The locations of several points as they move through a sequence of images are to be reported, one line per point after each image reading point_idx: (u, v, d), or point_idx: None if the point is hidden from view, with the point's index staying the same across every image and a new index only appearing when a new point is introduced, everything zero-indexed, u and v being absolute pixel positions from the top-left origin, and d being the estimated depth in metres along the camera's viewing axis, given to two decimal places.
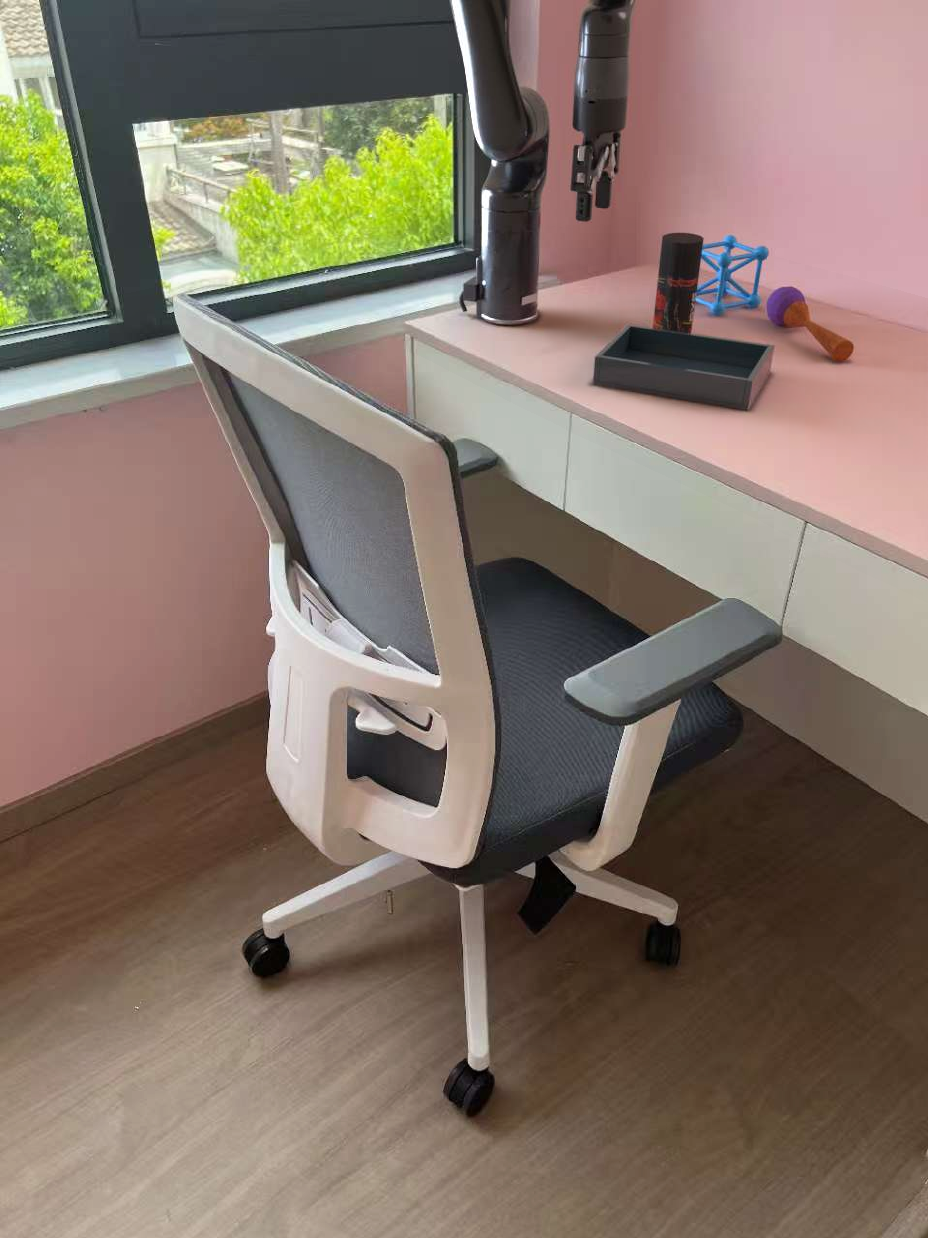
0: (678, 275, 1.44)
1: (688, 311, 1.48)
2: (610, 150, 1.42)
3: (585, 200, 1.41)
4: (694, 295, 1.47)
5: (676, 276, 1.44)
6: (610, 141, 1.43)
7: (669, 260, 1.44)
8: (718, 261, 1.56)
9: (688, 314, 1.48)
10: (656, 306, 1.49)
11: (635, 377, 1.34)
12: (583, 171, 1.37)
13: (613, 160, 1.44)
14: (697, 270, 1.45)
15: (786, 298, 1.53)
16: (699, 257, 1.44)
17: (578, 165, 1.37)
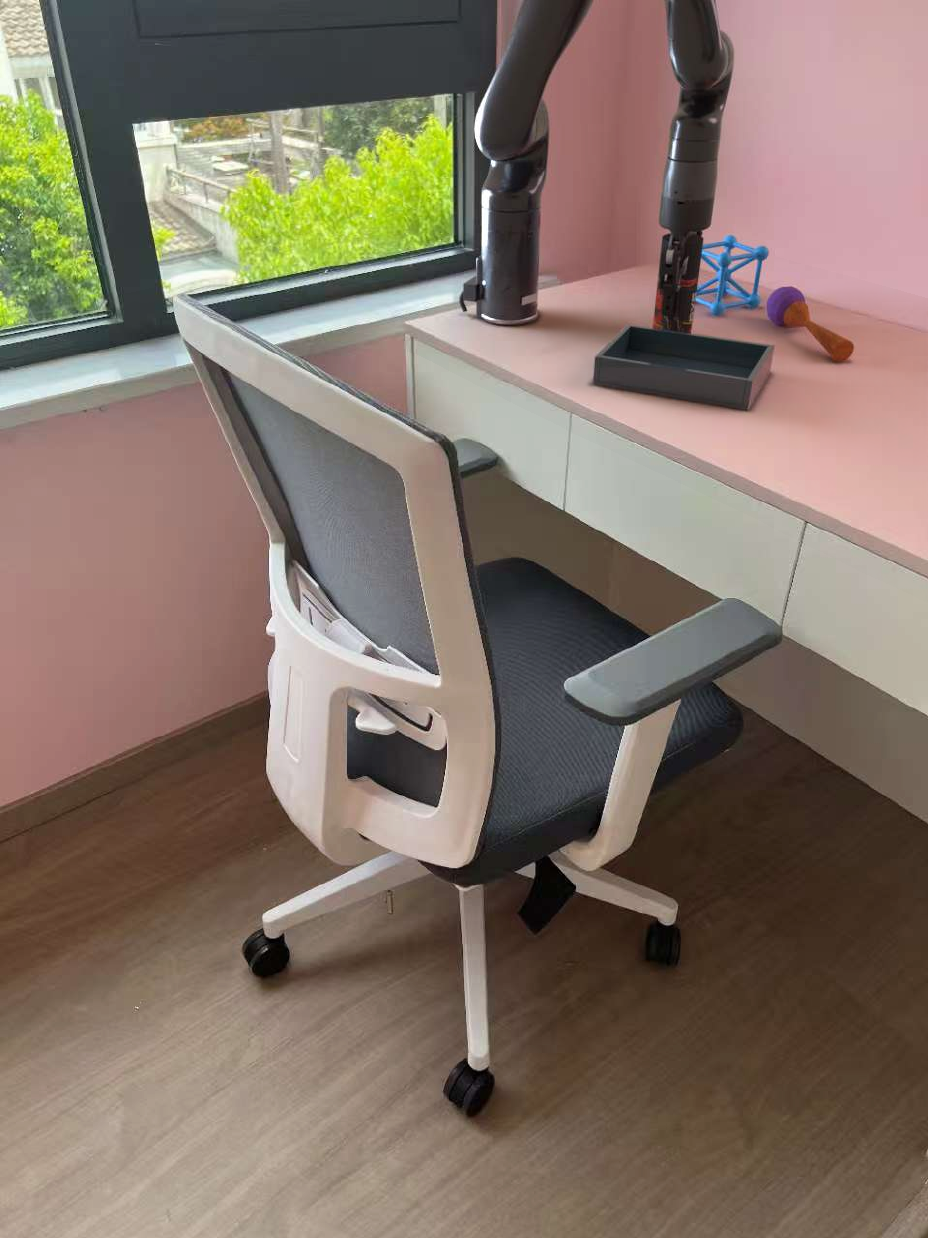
0: None
1: (688, 311, 1.48)
2: None
3: (672, 297, 1.45)
4: (694, 295, 1.47)
5: None
6: None
7: None
8: (718, 261, 1.56)
9: (688, 314, 1.48)
10: (656, 306, 1.49)
11: (635, 377, 1.34)
12: (671, 273, 1.41)
13: None
14: (697, 270, 1.45)
15: (786, 298, 1.53)
16: (699, 257, 1.44)
17: (666, 268, 1.41)
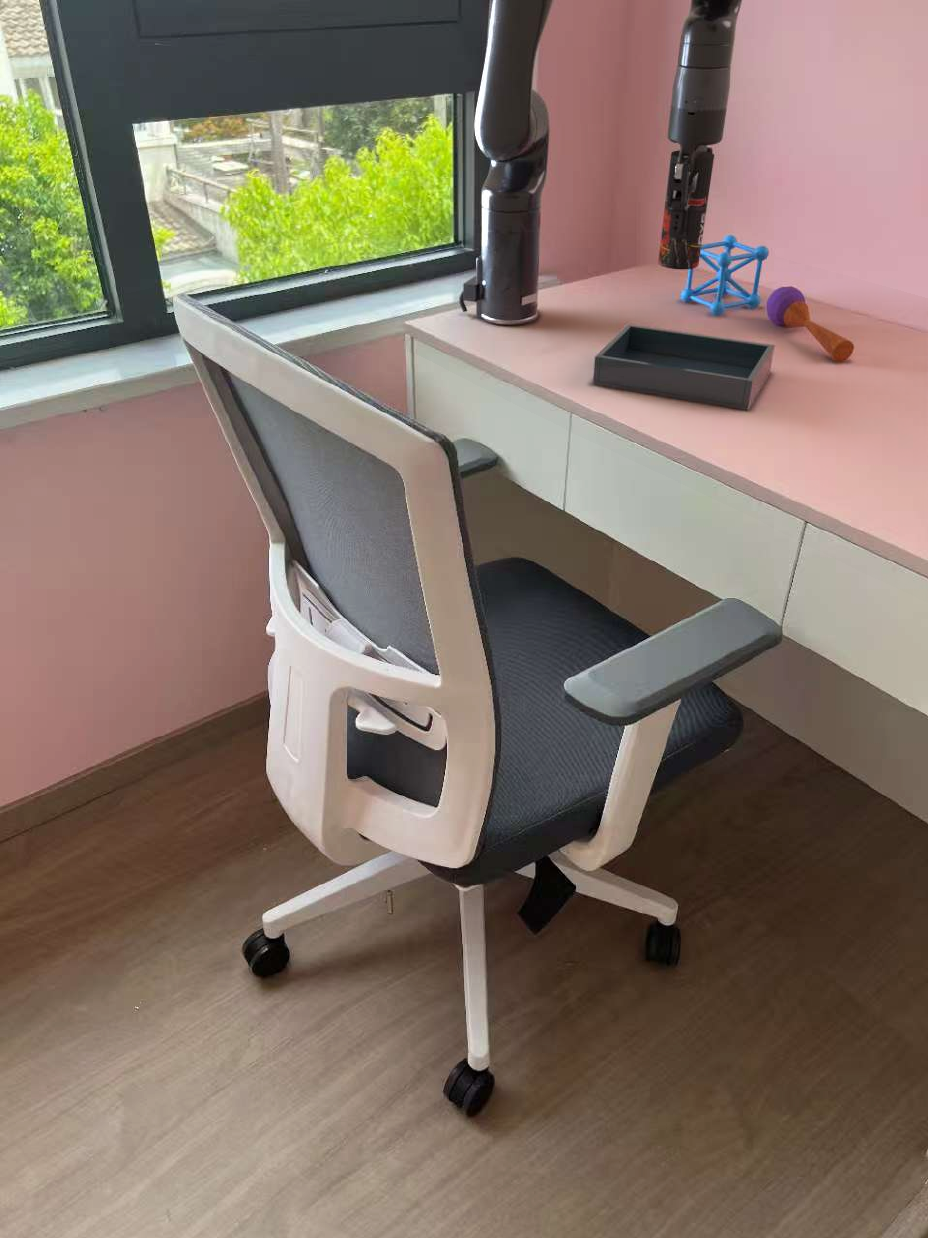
0: None
1: (697, 233, 1.41)
2: None
3: (680, 216, 1.38)
4: (703, 216, 1.41)
5: None
6: None
7: None
8: (718, 261, 1.56)
9: (696, 236, 1.42)
10: (663, 228, 1.43)
11: (635, 377, 1.34)
12: (680, 189, 1.35)
13: None
14: (707, 189, 1.38)
15: (786, 298, 1.53)
16: (709, 174, 1.37)
17: (675, 183, 1.34)
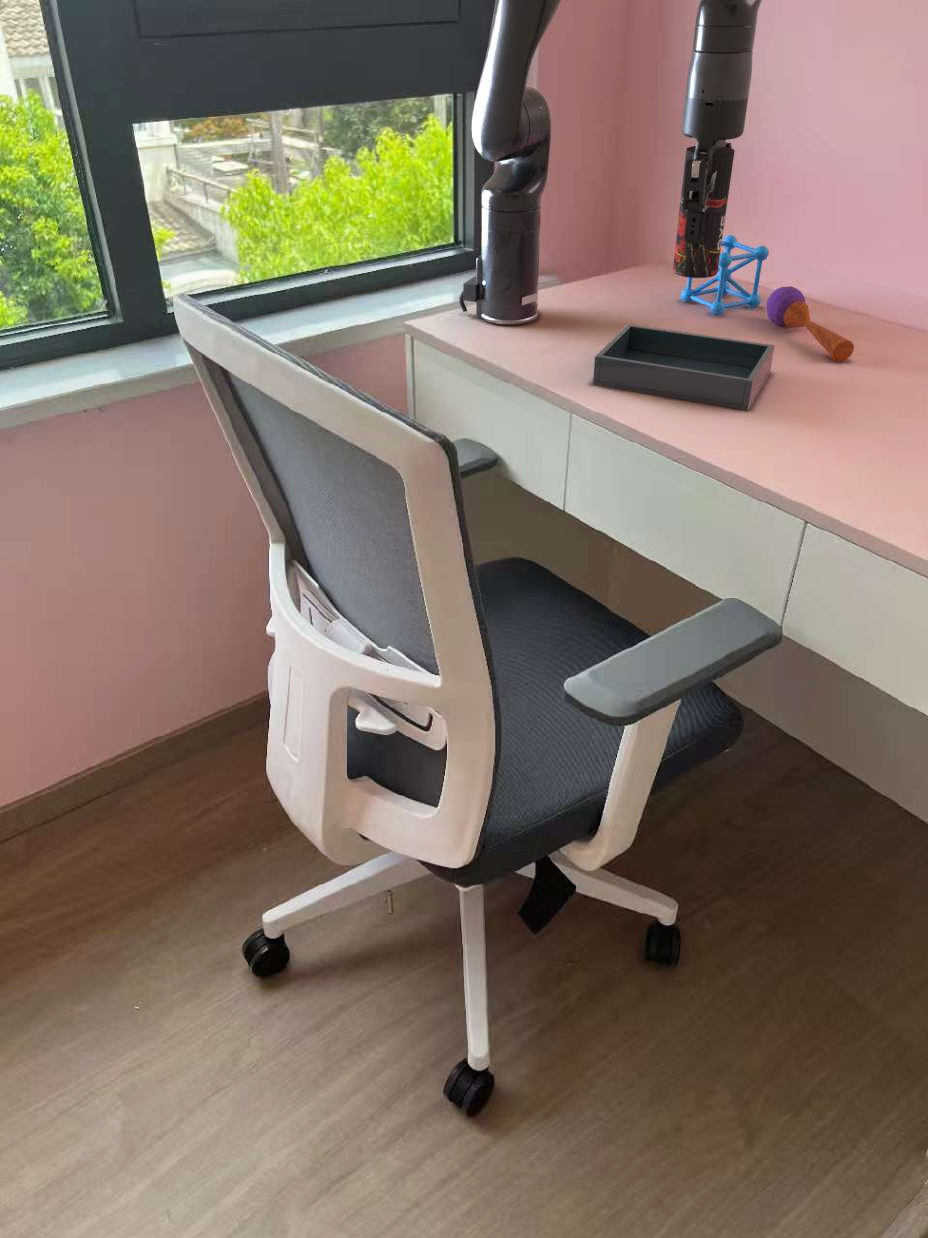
0: None
1: (716, 237, 1.27)
2: None
3: (697, 219, 1.24)
4: (723, 218, 1.27)
5: None
6: None
7: None
8: None
9: (715, 241, 1.27)
10: (678, 233, 1.29)
11: (635, 377, 1.34)
12: (698, 189, 1.20)
13: None
14: (727, 188, 1.24)
15: (786, 298, 1.53)
16: (729, 172, 1.23)
17: (692, 182, 1.20)
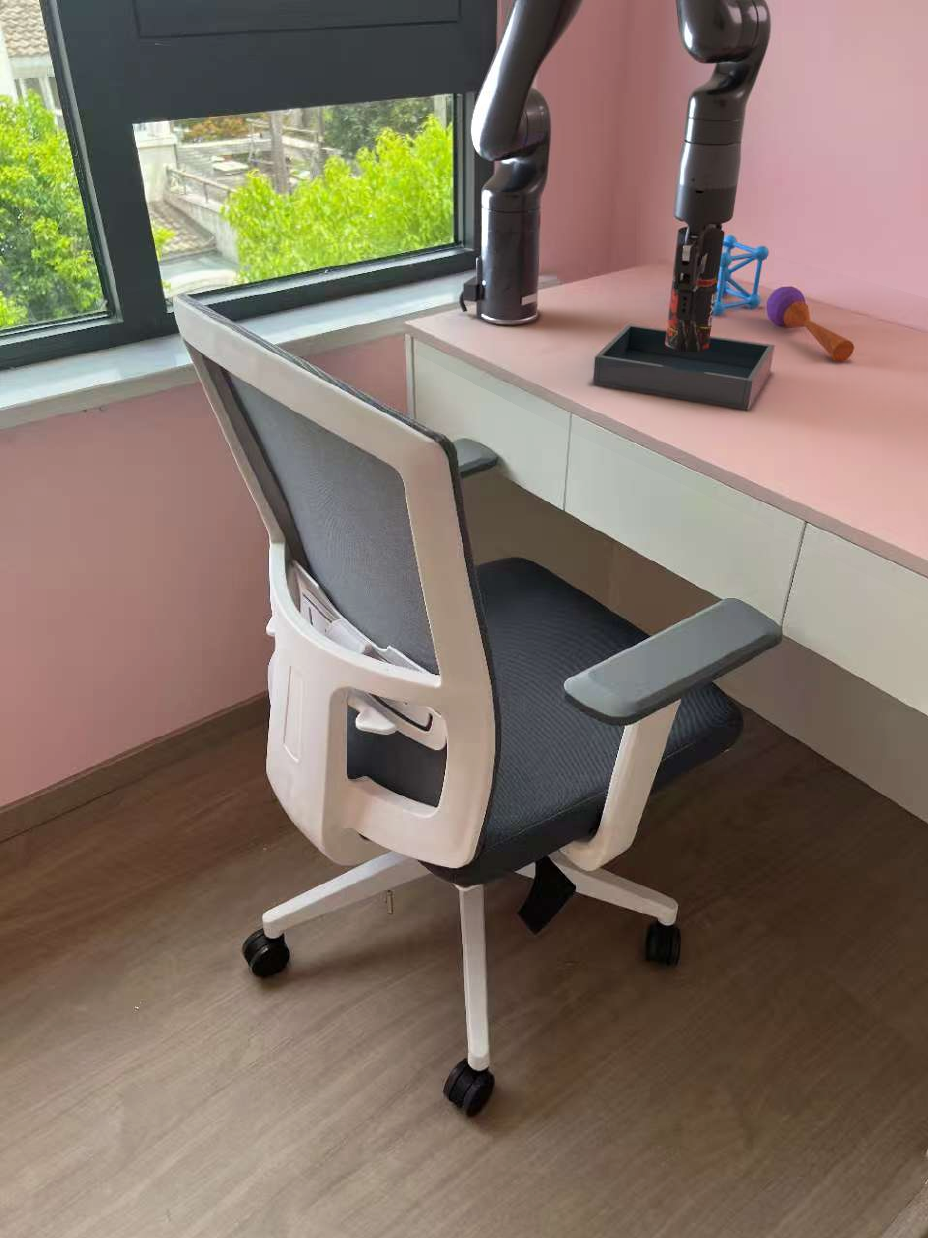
0: None
1: (707, 314, 1.31)
2: None
3: (689, 299, 1.29)
4: (713, 296, 1.31)
5: None
6: None
7: None
8: None
9: (706, 318, 1.32)
10: (670, 309, 1.33)
11: (635, 377, 1.34)
12: (688, 272, 1.25)
13: None
14: (717, 268, 1.29)
15: (786, 298, 1.53)
16: (719, 253, 1.28)
17: (683, 265, 1.25)
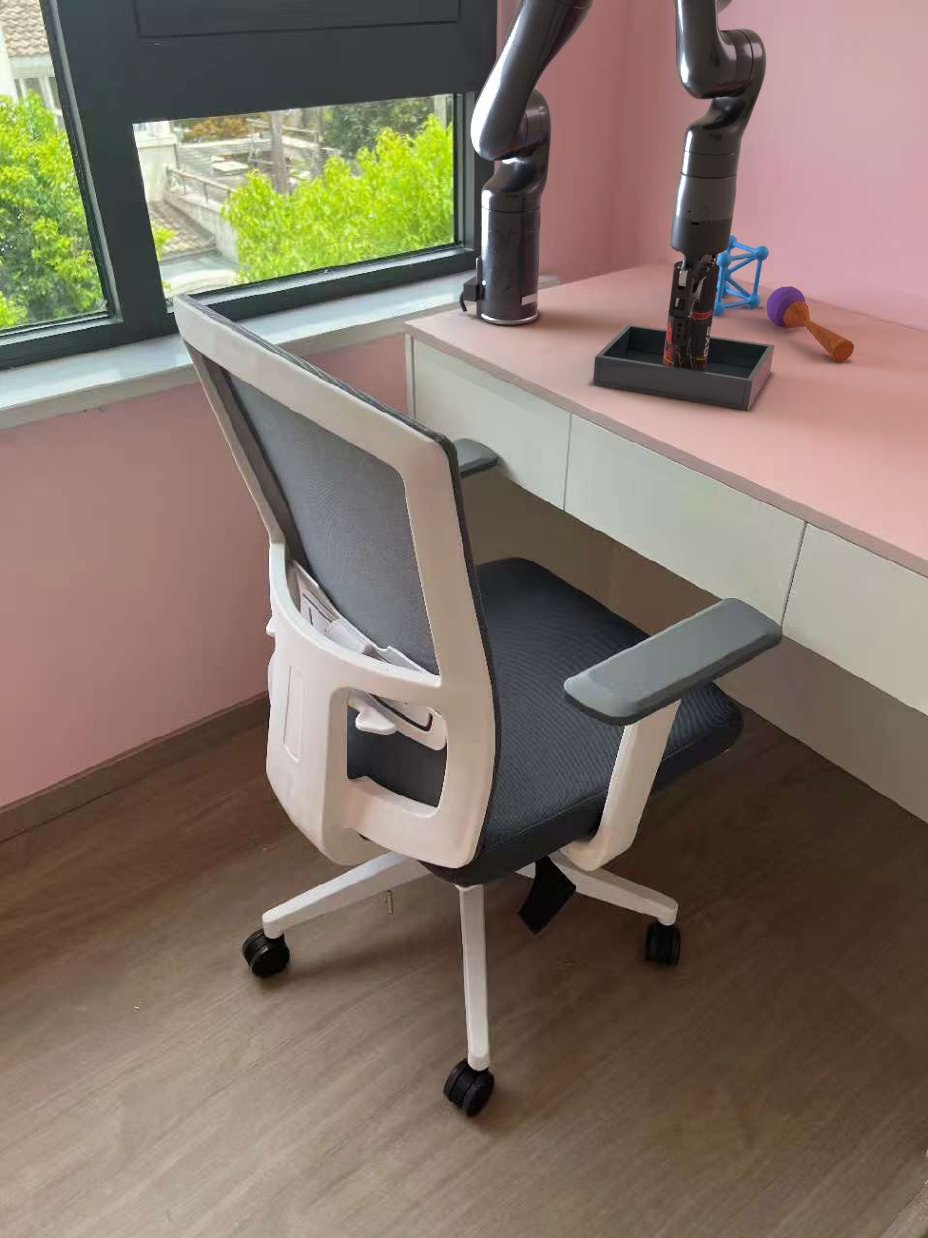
0: None
1: (702, 346, 1.34)
2: None
3: (683, 325, 1.30)
4: (709, 329, 1.33)
5: None
6: (709, 259, 1.31)
7: None
8: (718, 261, 1.56)
9: (702, 349, 1.34)
10: (667, 340, 1.36)
11: (635, 377, 1.34)
12: (684, 297, 1.26)
13: None
14: (712, 301, 1.31)
15: (786, 298, 1.53)
16: (715, 287, 1.30)
17: (679, 290, 1.26)
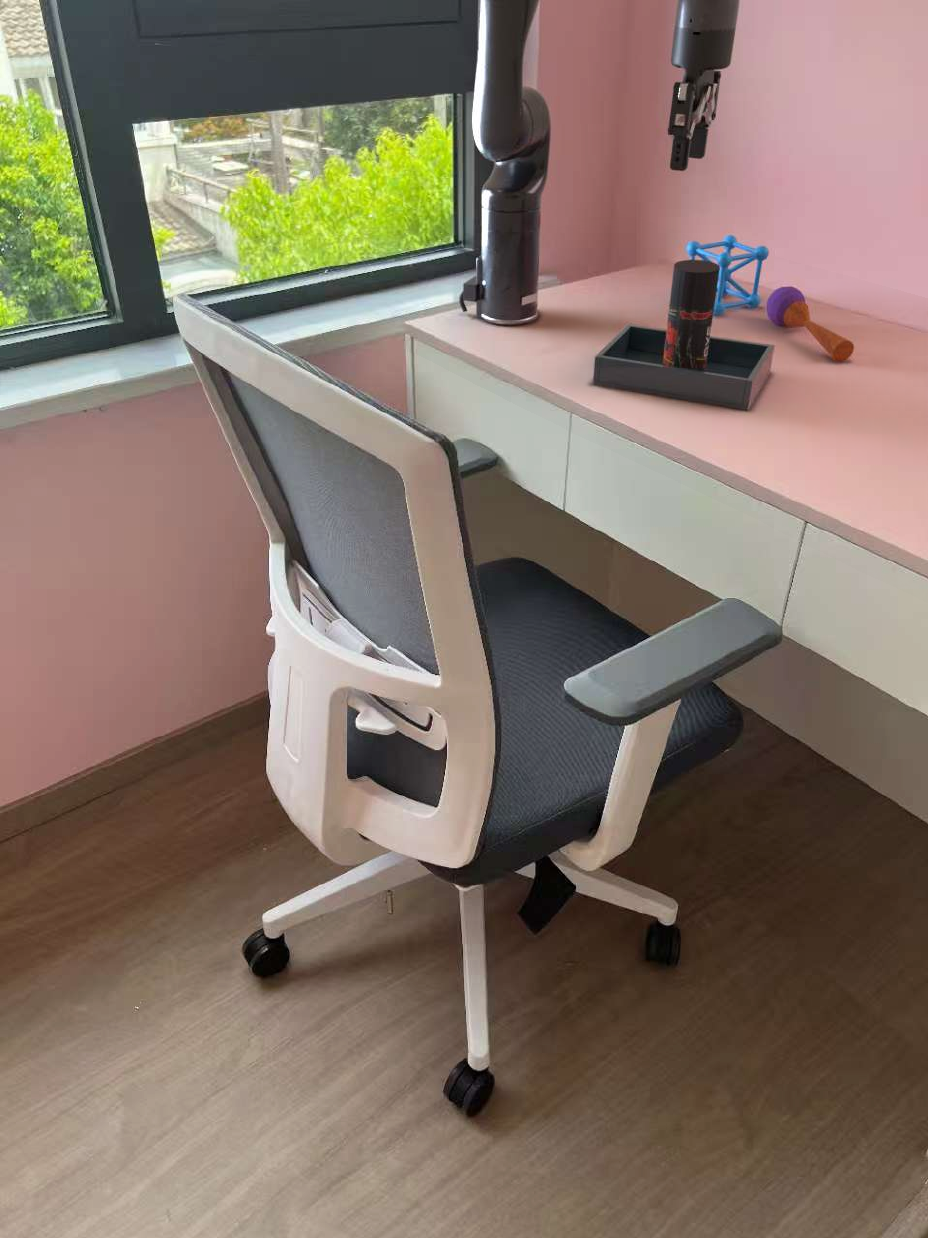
0: (691, 307, 1.31)
1: (702, 346, 1.34)
2: (711, 91, 1.27)
3: (683, 146, 1.26)
4: (709, 329, 1.33)
5: (689, 308, 1.31)
6: (711, 81, 1.28)
7: (682, 291, 1.30)
8: (718, 261, 1.56)
9: (702, 349, 1.34)
10: (667, 340, 1.36)
11: (635, 377, 1.34)
12: (684, 112, 1.23)
13: (713, 103, 1.29)
14: (712, 301, 1.31)
15: (786, 298, 1.53)
16: (715, 287, 1.30)
17: (678, 105, 1.23)
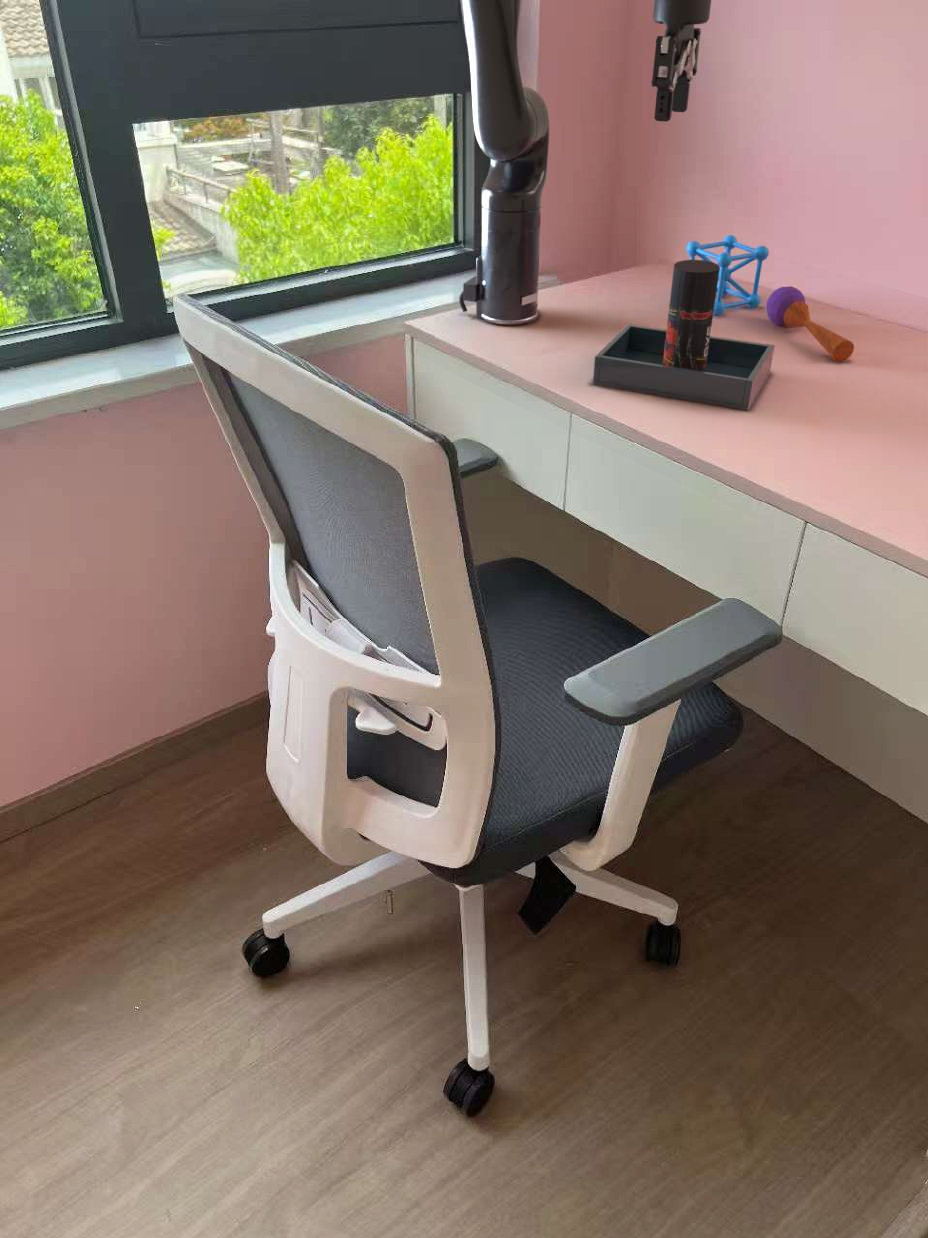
0: (691, 307, 1.31)
1: (702, 346, 1.34)
2: (692, 45, 1.35)
3: (666, 97, 1.35)
4: (709, 329, 1.33)
5: (689, 308, 1.31)
6: (691, 37, 1.37)
7: (682, 291, 1.30)
8: (718, 261, 1.56)
9: (702, 349, 1.34)
10: (667, 340, 1.36)
11: (635, 377, 1.34)
12: (666, 64, 1.31)
13: (693, 58, 1.38)
14: (712, 301, 1.31)
15: (786, 298, 1.53)
16: (715, 287, 1.30)
17: (661, 57, 1.31)
